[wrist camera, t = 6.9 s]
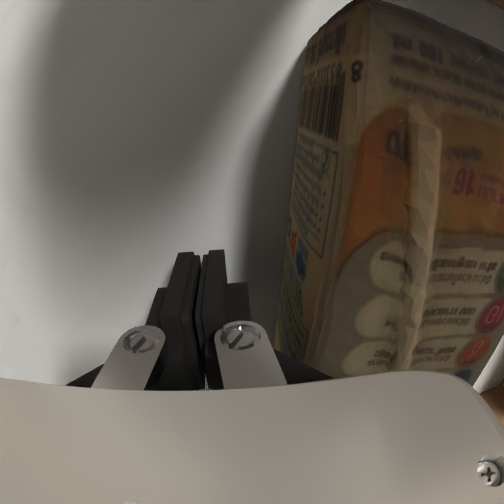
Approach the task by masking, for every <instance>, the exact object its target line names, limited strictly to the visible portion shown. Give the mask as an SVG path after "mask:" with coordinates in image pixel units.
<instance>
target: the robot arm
mask: <svg viewBox="0 0 504 504" xmlns="http://www.w3.org/2000/svg"><path fill="white" fill-rule="evenodd" d="M205 373H206V378H207V383H208V387H209V389H212V390H201V389H204V388H205ZM0 504H504V427H503V425H502V424H501V422H500V421H499V419H498V418H497V416H496V415H495V413H494V412H493V411H492V409H491V408H490V406H489V405H488V404H487V403H486V401H485V400H484V399H483V398H482V397H481V395H480V394H479V393H478V392H477V391H476V390H475V389H474V388H473V387H472V386H471V385H470V384H468V383H467V382H466V381H464V380H463V379H462V378H460V377H457V376H455V375H452V374H448V373H444V372H439V371H429V370H395V371H385V372H377V373H370V374H364V375H357V376H350V377H342V378H335V379H334V378H333V377H331V376H329V375H327V374H324V373H322V372H320V371H318V370H316V369H314V368H312V367H310V366H308V365H306V364H303V363H301V362H299V361H297V360H295V359H293V358H291V357H289V356H287V355H285V354H283V353H281V352H279V351H277V350H275V349H273V348H272V345H271V343H270V341H269V338H268V336H267V333H266V331H265V330H264V328H263V327H262V326H260V325H259V324H257V323H254V322H251V315H250V305H249V296H248V286H247V282H244V283H230V284H227V274H226V264H225V253H224V249H223V250H209V254H208V255H203V261H202V268H201V261H200V256H199V255H194V252H182V253H178V255H177V258H176V262H175V265H174V268H173V271H172V275H171V278H170V281H169V284H168V287H167V288H158V290H157V292H156V295H155V298H154V301H153V304H152V307H151V310H150V313H149V316H148V319H147V322H146V325H145V326H138V327H134V328H132V329H130V330H128V331H127V332H125V333H124V334H123V335H122V336H121V337H120V338H119V340H118V342H117V343H116V345H115V347H114V349H113V350H112V352H111V354H110V355H109V357H108V359H107V360H106V362H105V363H104V364H103V365H101V366H99V367H97V368H95V369H94V370H92V371H90V372H88V373H87V374H85V375H83V376H81V377H79V378H78V379H76V380H74V381H72V382H71V383H69V384H67V385H66V386H63V385H53V384H45V383H37V382H30V381H23V380H14V379H6V378H0Z"/></svg>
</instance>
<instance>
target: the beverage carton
mask: <svg viewBox="0 0 504 504" xmlns="http://www.w3.org/2000/svg"><path fill="white" fill-rule="evenodd" d="M503 334H504V52H502V51H500V50H498V49H496V48H494V47H492V46H491V45H489V44H487V43H485V42H483V41H481V40H479V39H476V38H474V37H472V36H469V35H467V34H465V33H463V32H460V31H458V30H456V29H453V28H451V27H448V26H446V25H443V24H441V23H439V22H437V21H436V20H434V19H432V18H429V17H427V16H425V15H422V14H420V13H418V12H415V11H413V10H410V9H407V8H404V7H401V6H398V5H395V4H392V3H389V2H385V1H382V0H353V1H351V2H350V3H348V4H347V5H346V6H344V7H343V8H342V9H341V10H339V11H338V12H337V13H336V14H335V15H334V16H332V17H331V18H330V19H329V20H328V21H327V23H325V24H324V25H323V26H322V27H320V28H319V30H318V31H317V32H316V33H315V34H314V35H313V36H312V37H311V38H310V40H309V41H308V43H307V50H306V58H305V65H304V72H303V78H302V88H301V99H300V109H299V120H298V130H297V140H296V150H295V159H294V167H293V179H292V187H291V197H290V213H289V222H288V228H287V236H286V246H285V253H284V263H283V272H282V280H281V288H280V295H279V302H278V309H277V319H276V324H275V333H274V343H273V349H275V350H277V351H279V352H281V353H283V354H285V355H287V356H289V357H291V358H293V359H295V360H297V361H299V362H301V363H303V364H306V365H308V366H310V367H312V368H314V369H316V370H318V371H320V372H322V373H324V374H327V375H329V376H331V377H333V378H334V379H335V378H342V377H350V376H357V375H364V374H370V373H377V372H385V371H395V370H429V371H439V372H444V373H448V374H452V375H455V376H457V377H460V378H462V379H463V380H464V381H466V382H467V383H468V384H470V385H471V386H472V387H473V385H474V383H475V382H476V380H477V379H478V377H479V375H480V374H481V372H482V371H483V369H484V367H485V366H486V364H487V362H488V361H489V359H490V358H491V356H492V354H493V352H494V351H495V349H496V347H497V345H498V344H499V342H500V340H501V338H502V336H503Z"/></svg>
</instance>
